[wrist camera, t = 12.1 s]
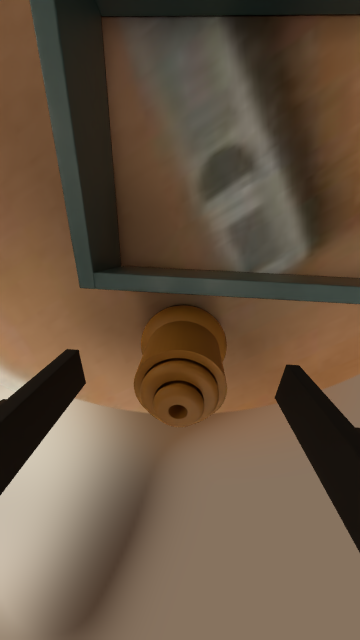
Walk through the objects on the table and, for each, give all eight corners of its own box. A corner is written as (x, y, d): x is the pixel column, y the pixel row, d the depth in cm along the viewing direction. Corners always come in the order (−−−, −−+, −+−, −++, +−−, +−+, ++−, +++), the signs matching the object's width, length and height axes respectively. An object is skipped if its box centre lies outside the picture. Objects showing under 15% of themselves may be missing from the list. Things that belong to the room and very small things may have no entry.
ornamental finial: (239, 345, 16) (179, 382, 19) (189, 284, 15) (129, 334, 17) (278, 422, 9) (171, 471, 11) (187, 319, 7) (79, 401, 9)
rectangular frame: (80, -13, 9) (-13, -233, 5) (555, -21, 8) (930, -299, 4) (110, 277, 15) (79, 288, 11) (393, 292, 14) (480, 311, 10)
